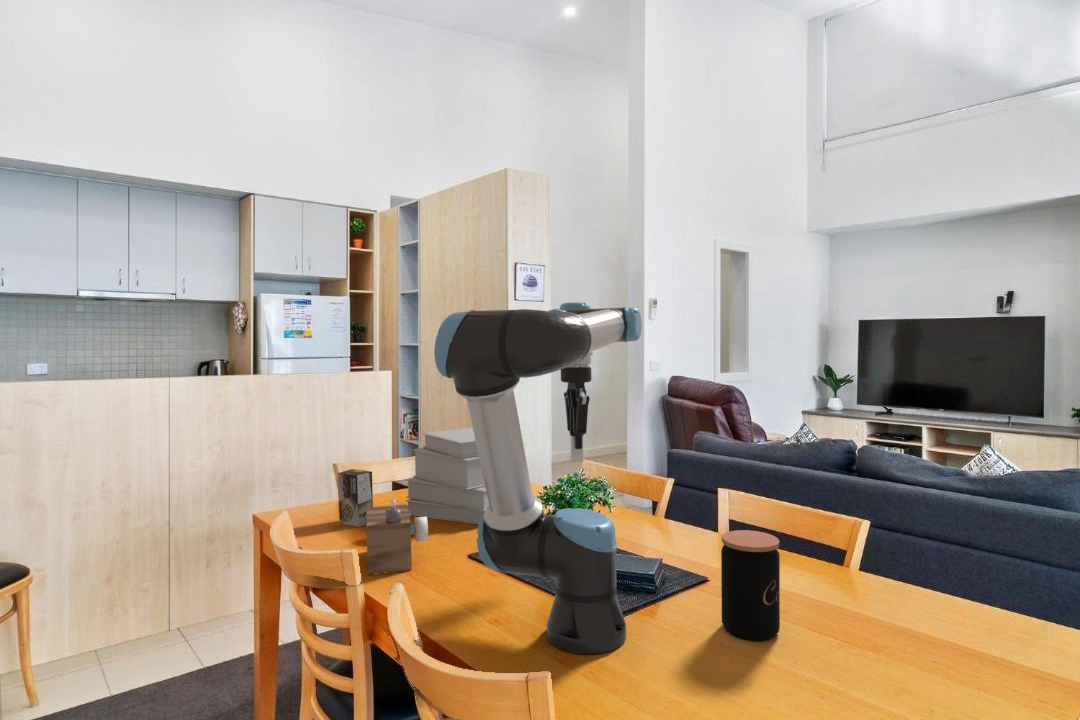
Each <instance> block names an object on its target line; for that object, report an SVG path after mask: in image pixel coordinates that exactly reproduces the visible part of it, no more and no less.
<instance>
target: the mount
mask: <svg viewBox="0 0 1080 720" xmlns="http://www.w3.org/2000/svg"><path fill="white" fill-rule="evenodd" d="M389 508H391V505H380V506H373V507H367V525H366V553H367V555H366V556H367V557H366V558H367V560H366V561H367V566H366V567H367V575H368V574H374V575H376V574H375V573H384V572H393V573H396V572H395V571H403V572H407V571H406V570H413V569H412V568H413V567H412V563H413V562H412V538H411V523H412V516H411V511H410V510H408V503H406V504H395V508H400V509H401V522H399V523H395V524H388V523H386V509H389ZM410 521H411V522H410ZM384 574H385V573H384Z"/></svg>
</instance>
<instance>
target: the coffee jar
mask: <svg viewBox="0 0 1080 720" xmlns="http://www.w3.org/2000/svg"><path fill="white" fill-rule="evenodd" d="M720 540H721V542H722V544H723V545H722V547H721V553H720V555H721V557H720V558H721V562H720V563H721V568H720V569H721V575H720V576H721V577H720V578H721V579H720V580H721V624H722V625H723V626H722V627H723V628H724V629H725V631H726V632H727V633H728V634H729V635H730V636H732V637H734V638H736V639H738V640H742V641H748V642H752V643H753V642H757V643H759V642H761V643H762V642H768V641H771V640H773V639H774V638H775V637H777V635H778V633H779V632H780V628H781V627H780V626H781V625H780V624H781V622H780V621H781V617H780V614H781V613H780V611H781V608H780V605H781V604H780V598H781V597H780V596H781V593H780V591H781V589H780V588H781V587H780V585H781V583H780V582H781V581H780V577H781V576H780V570H781V569H780V568H781V567H780V565H781V563H780V557H781V555H780V552H779V550H778V548H779V547H780V540H779V538H778V537H776V536H775V535H773V534H770V533H767V532H763V531H758V530H748V529H746V530H745V529H742V530H741V529H740V530H739V529H737V530H731V531H727V532H725V533H723V534H722V535H721V539H720Z"/></svg>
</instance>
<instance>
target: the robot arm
mask: <svg viewBox="0 0 1080 720" xmlns="http://www.w3.org/2000/svg"><path fill="white" fill-rule="evenodd" d="M642 328H643V327H642V316H641V312H640V310H639V309H638V308H636V307H626V306H623V307H608V308H607V307H605V308H602V307H601V308H591V305H590V304H589V303H587V302H563V303H562V304H560V307H559V308H554V309H549V310H541V309H530V308H529V309H527V308H525V309H522V308H521V309H520V308H519V309H499V310H498V309H497V310H496V309H494V310H475V309H470V310H468V311H467V310H466V311H459V312H453V313H451V314H449V315H447V317H446V318H445V319H444V320H443V321H442V322H441V324H440V326H439V328H438V330H437V331H438V332H437V334H436V336H435V342H434V353H433V354H434V362H435V363H434V364H435V367H436V369H437V371H438V372H439V374H441V376H442V377H445V378H447V379H453V383H454V387H455V388H454V389H455V392H456V394H457V395H459V396H460V397H462V398H464V399H465V400H466V404H467V408H468V412H469V417H470V422H471V428H473V432H474V436H475V441H476V446H477V450H478V455H479V460H480V464H481V469H482V474H483V478H484V483H485V488H486V492H487V497H488V502H489V506H488V507H487V508H486V510H485V512H484V515H483V516H482V518H481V520H480V522H479V524H477V525H478V526H477V530H476V533H477V538H476V546H477V547H476V548H477V551H478V554H479V558H480V559H481V561H482V562H483V564H484V565H485V566H487V567H488V568H489V569H491V570H493V571H497V572H502V574H503V573H506V574H515V575H516V574H517V575H522V576H523V575H525V576H532V577H540V578H545V579H553V580H554V584H555V596H554V600H553V603H552V606H551V609H550V612H549V616H548V619H547V621H546V637H547V640H548V642H549V643H550V644H551V645H553V646H554V647H556V648H557V649H560V650H563V651H564V652H569V653H572V654H577V655H579V654H580V655H595V654H596V655H597V654H603V653H608V652H610V651H615V650H616V649H618V648H620V647H621V646H622V645H623V644H624V643H625V641H626V639H627V624H626V621H625V618H624V614H623V611H622V608H621V605H620V602H619V599H618V597H617V593H618V592H617V549H618V543H617V536H616V527H615V526H616V525H615V524H614V522H613V520H611V519H610V518H609V517H608V516H606V515H605V514H603V513H601V512H598V511H595V510H591V509H585V508H580V507H579V508H577V507H575V508H569V507H567V508H561V509H559V510H557V511H556V512H555V513H554V516H553V515H547V514H546V515H545V511H544V506H543V503H542V501H541V499H539V498H538V497H536V496H535V495H533V491H532V490H533V489H532V484H531V478H530V473H529V468H528V462H527V457H526V453H525V451H526V450H525V445H524V441H523V440H524V439H523V435H522V429H521V423H520V418H519V413H518V408H517V402H516V398H515V392H514V389H515V388H516V387H517V386H518V384H519V383H520V381H521V378H526V379H527V378H534V377H540V376H544V375H547V374H551V373H552V374H553V373H555V372H558V371H560V381H561V382H562V383H567V389H566V391H564V393H563V396H564V401H565V402H564V403H565V414H566V426H567V431H568V432H569V435H570V462H571V463H583V462H584V435H586V434H587V426H588V413H589V412H588V411H589V403H590V396H589V395H587V390H586V386H585V383H589V382H591V381H592V367H591V366H589V365H591V364H592V356H593V354H594V353H593V352H594V351H596V350H599V349H601V348H604V347H607V346H609V345H612V344H615V343H618V342H619V343H623V342H624V343H628V342H636V341H638V340H639V339H640V337H641V335H642Z"/></svg>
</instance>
